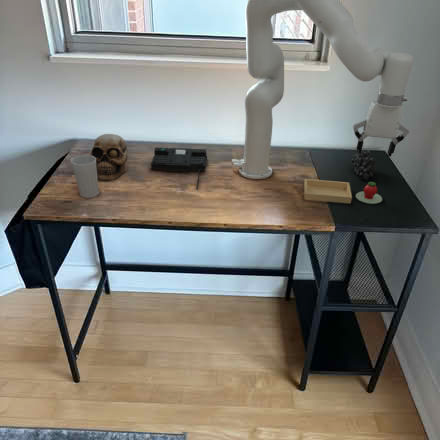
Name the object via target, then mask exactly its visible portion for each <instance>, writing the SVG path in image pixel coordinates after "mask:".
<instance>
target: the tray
mask: <svg viewBox="0 0 440 440" xmlns="http://www.w3.org/2000/svg"><path fill="white" fill-rule="evenodd" d="M303 181H304V182H303V200H306V201H317V202H327V203H329V202H330V203H338V204H339V203H341V204H351V203H352V199H353V196H352V189H351V185H350V182H349V181H348V182H347V181H336V180H325V179H324V180H323V179H311V178H304V180H303Z"/></svg>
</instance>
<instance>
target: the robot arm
mask: <svg viewBox="0 0 440 440" xmlns="http://www.w3.org/2000/svg"><path fill="white" fill-rule="evenodd" d="M289 11H291V12H292V11H302V12H303V13H304V14H305V15H306V17H308V18H309V20H311V21H312V23H313V24H314V25H315V26H316V27H317V28H318V29H319V31H320V32H321V33H322V34H323V35H324V36H325V37H326V39H327V40H328V42H329V44H330V46H331V48H332V49H333V51H334V53H335V54H336V57H337V58H338V59H339V60H340V62H341V63H342V65H344V67H345V68H346V69H347V70H348V71H349V72H350V73H351V74H352V76H354V78H356V79H357V80H358V81H361V82H365V83H366V82H370V81H373V80H375V78H377V77H378V76H380V77H381V78H380V80H379V81H380V82H379V86H378V88H377V89H378V90H377V92H376V97H375V100H372V102H371V104H370V106H369V108H368V111H367V114H366V117H365V119H364V120H362V121H360V122H357V123H354V124H353V125H352V128H353V132H354V135H355V137H356V138H357V144H356V151H357V154H360V153H361V151H362V150H363V147H364V140H365V139H366V138H367V137H371V138H381V139H391V141H390V142H389V145H388V148H387V156H388V157H390V158H391V157H392V155H393V154H394V153H395V150H396V147H397V145H398V144H399V143H400V142H402V141H403V140H404V139H405V138H406V137H407V136H408V135H409V133H410V130H409V129H408V128H407V127H405V126H404V125H402V124H401V120H402V114H403V102H407V101H408V99H409V96H406V95H405V92H406V88H407V85H408V81H409V78H410V74H411V71H412V68H413V65H414V57H413V55H412V54H409V53H406V52H399V51H391V50H386V49H384V48H380V47H370V48H369V47H368V46H367V44H365V42H364V41H363V40H362V39H361V38H360V36H359V35H358V33H357V31H356V28H355V24H354V19H353V16H352V14H351V12H350V11H349V10H348V9H347V8H346V7H345V6H344V5H343V3H342V1H340V0H247V1H246V4H245V11H244V20H245V21H244V22H245V44H246V45H245V47H246V49H245V50H246V66H247V67H246V69H247V72H248V74H249V76H251V78H253V79H255V80H258V82H257V83H255V84H253V85H252V86H251V87H250V88H249V89H248V91H247V92H246V95H245V98H244V110H245V129H244V133H245V134H244V148H243V149H244V150H243V152H244V153H243V158H241V159H231V165H233V167H234V168H235V167H236V168H238V173H239V175H241V176H242V177H244V178H246V179H251V180H263V179H267V178H270V177H271V176H272V174H273V169H272V167H270V158H271V157H270V156H271V148H272V147H271V146H272V137H273V123H274V121H273V109H274V107H276V106H277V105H278V104H279V103H280V102H281V101H282V99H283V97H284V92H285V57H284V56H285V55H284V53H283V50H282V48H281V47H280V46H279V45H278V44H277V43H275V42H274V28H273V24H272V17H273V16H275V15H277V14H280V13H284V12H289ZM360 128H362V129H363V131H362V132H360V131H359V129H360ZM399 131H400V132H402V133H400V135H398V132H399Z"/></svg>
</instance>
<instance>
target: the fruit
mask: <svg viewBox="0 0 440 440" xmlns="http://www.w3.org/2000/svg"><path fill="white" fill-rule="evenodd" d="M351 163H353V164H352V167H354V168H353V172H354V173H356V175H357V176H359V177H360V179H362V180H363V181H366V182H367V181H369V179H370V178H372V177H373V176H374V173H375V171H376V170H375V167H376V162H375V158H374V157H373V155H372V152H371V150H370V149H366V150H364V149H362V151H361V153H360V154H358V153H355V154H353V157H352V158H351Z"/></svg>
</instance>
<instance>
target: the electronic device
mask: <svg viewBox="0 0 440 440" xmlns="http://www.w3.org/2000/svg"><path fill="white" fill-rule="evenodd" d="M207 164H208V154H207V149H206V148H202V149H201V148H184V147H183V148H182V147H181V148H180V147H154V155H153V158H152V160H151V163H150V168H151V170H162V171H166V172H187V173H190V172H193V171H194V172H198V174H197V175H198V176H197V177H198V178H197V184H196V190H198V187H199V182H200V174H201V172H205V171H206V170H207Z"/></svg>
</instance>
